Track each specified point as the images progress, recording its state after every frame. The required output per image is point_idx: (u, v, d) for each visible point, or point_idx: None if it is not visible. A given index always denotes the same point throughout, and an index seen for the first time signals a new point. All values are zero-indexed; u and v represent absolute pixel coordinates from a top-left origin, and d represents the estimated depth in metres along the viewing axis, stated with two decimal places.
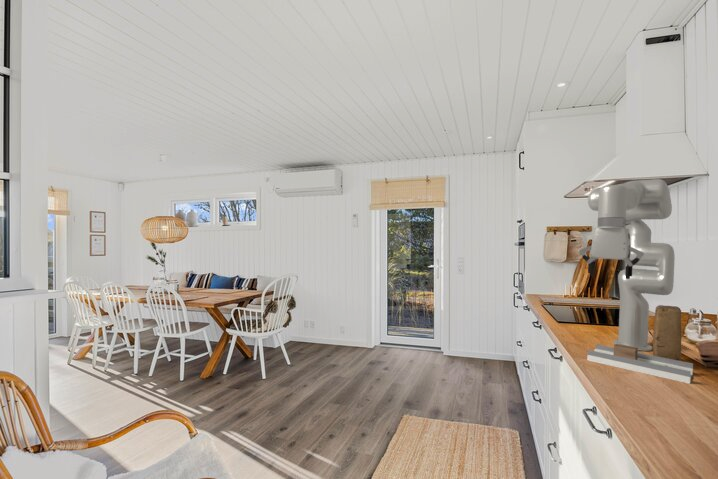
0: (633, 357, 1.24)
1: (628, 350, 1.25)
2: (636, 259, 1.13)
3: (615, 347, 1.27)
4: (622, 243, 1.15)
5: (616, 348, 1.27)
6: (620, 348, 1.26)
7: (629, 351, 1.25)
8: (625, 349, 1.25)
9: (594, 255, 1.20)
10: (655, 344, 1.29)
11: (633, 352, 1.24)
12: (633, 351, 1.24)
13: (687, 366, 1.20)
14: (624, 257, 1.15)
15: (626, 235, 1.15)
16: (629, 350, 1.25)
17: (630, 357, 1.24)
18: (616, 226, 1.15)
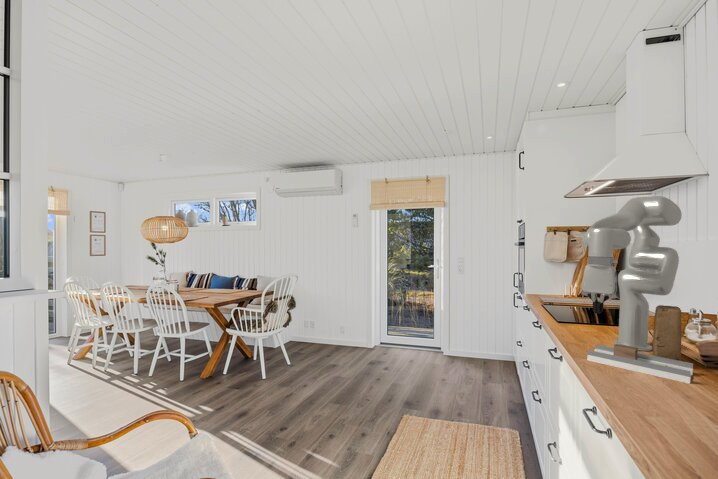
0: (633, 357, 1.24)
1: (628, 350, 1.25)
2: (606, 297, 1.31)
3: (615, 347, 1.27)
4: (609, 280, 1.29)
5: (616, 348, 1.27)
6: (620, 348, 1.26)
7: (629, 351, 1.25)
8: (625, 349, 1.25)
9: (584, 289, 1.34)
10: (655, 344, 1.29)
11: (633, 352, 1.24)
12: (633, 351, 1.24)
13: (687, 366, 1.20)
14: (611, 293, 1.29)
15: (613, 273, 1.29)
16: (629, 350, 1.25)
17: (630, 357, 1.24)
18: (604, 265, 1.30)
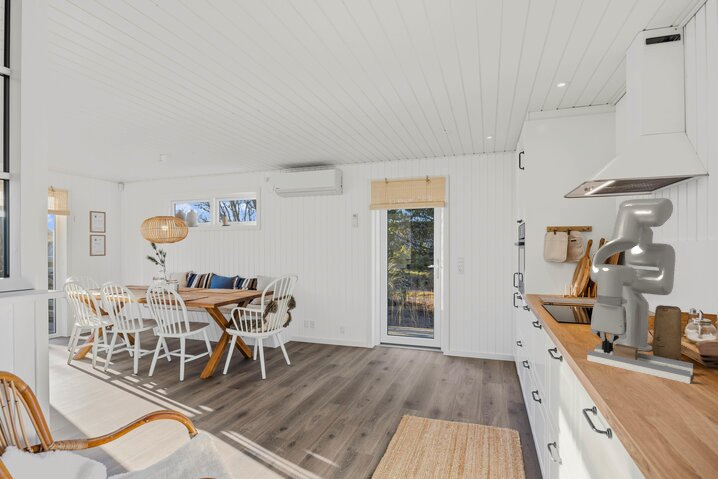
0: (633, 357, 1.24)
1: (628, 350, 1.25)
2: (616, 337, 1.29)
3: (615, 347, 1.27)
4: (619, 320, 1.27)
5: (616, 348, 1.27)
6: (620, 348, 1.26)
7: (629, 351, 1.25)
8: (625, 349, 1.25)
9: (593, 328, 1.32)
10: (655, 344, 1.29)
11: (633, 352, 1.24)
12: (633, 351, 1.24)
13: (687, 366, 1.20)
14: (620, 333, 1.27)
15: (622, 313, 1.27)
16: (629, 350, 1.25)
17: (630, 357, 1.24)
18: (613, 305, 1.27)
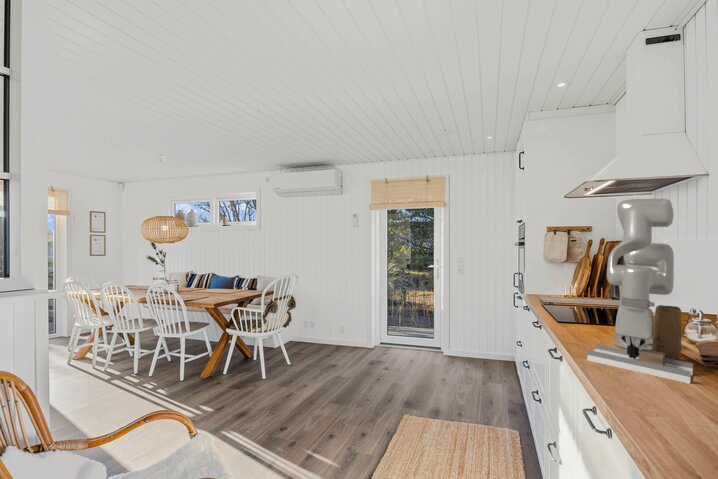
0: (661, 363, 1.18)
1: (655, 356, 1.19)
2: (642, 341, 1.23)
3: (641, 353, 1.22)
4: (646, 324, 1.22)
5: (642, 354, 1.22)
6: (647, 354, 1.21)
7: (656, 357, 1.19)
8: (652, 355, 1.20)
9: (618, 332, 1.27)
10: (655, 344, 1.29)
11: (660, 358, 1.18)
12: (661, 357, 1.18)
13: (687, 366, 1.20)
14: (648, 338, 1.21)
15: (649, 317, 1.21)
16: (656, 356, 1.19)
17: (657, 363, 1.19)
18: (640, 308, 1.22)
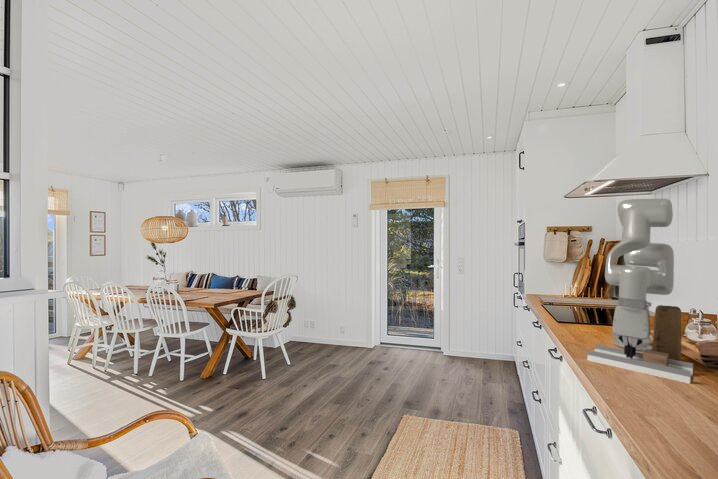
0: (664, 364, 1.18)
1: (659, 357, 1.19)
2: (639, 341, 1.24)
3: (644, 353, 1.21)
4: (643, 324, 1.22)
5: (646, 354, 1.21)
6: (650, 354, 1.20)
7: (660, 358, 1.18)
8: (655, 355, 1.19)
9: (615, 332, 1.28)
10: (655, 344, 1.29)
11: (664, 358, 1.18)
12: (664, 358, 1.18)
13: (687, 366, 1.20)
14: (645, 337, 1.22)
15: (646, 317, 1.22)
16: (660, 357, 1.18)
17: (660, 364, 1.18)
18: (637, 308, 1.23)
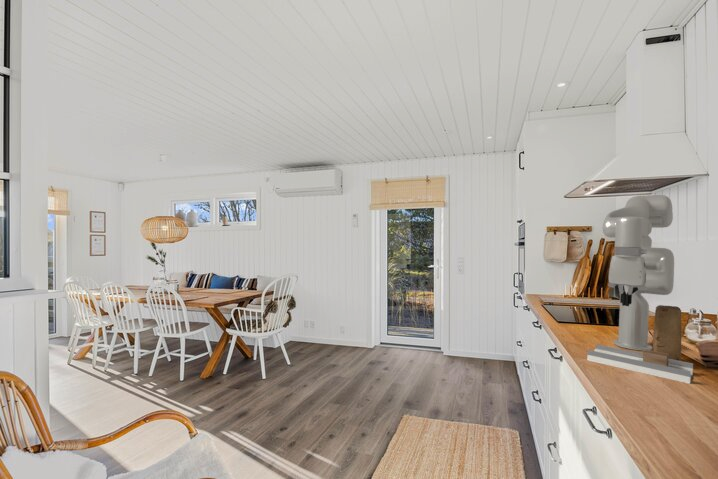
0: (664, 364, 1.18)
1: (659, 357, 1.19)
2: (635, 288, 1.25)
3: (644, 353, 1.21)
4: (638, 271, 1.24)
5: (646, 354, 1.21)
6: (650, 354, 1.20)
7: (660, 358, 1.18)
8: (655, 355, 1.19)
9: (611, 281, 1.29)
10: (655, 344, 1.29)
11: (664, 358, 1.18)
12: (664, 358, 1.18)
13: (687, 366, 1.20)
14: (640, 284, 1.23)
15: (642, 264, 1.23)
16: (660, 357, 1.18)
17: (660, 364, 1.18)
18: (632, 255, 1.24)
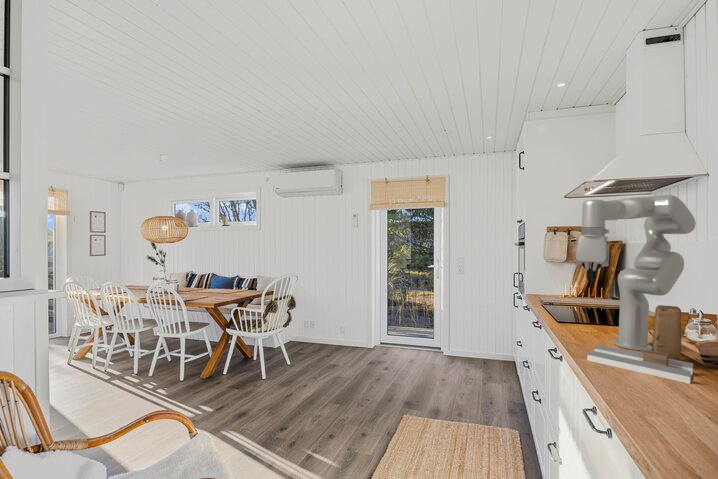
0: (664, 364, 1.18)
1: (659, 357, 1.19)
2: (599, 265, 1.38)
3: (644, 353, 1.21)
4: (601, 249, 1.36)
5: (646, 354, 1.21)
6: (650, 354, 1.20)
7: (660, 358, 1.18)
8: (655, 355, 1.19)
9: (578, 259, 1.42)
10: (655, 344, 1.29)
11: (664, 358, 1.18)
12: (664, 358, 1.18)
13: (687, 366, 1.20)
14: (603, 261, 1.36)
15: (605, 242, 1.36)
16: (660, 357, 1.18)
17: (660, 364, 1.18)
18: (596, 234, 1.37)
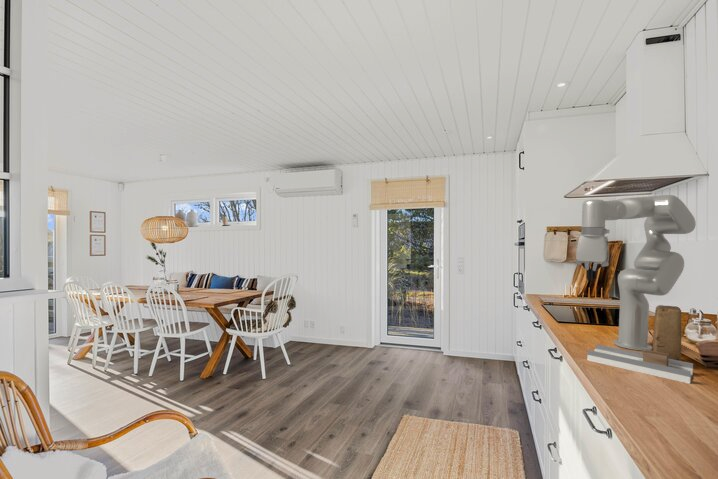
0: (664, 364, 1.18)
1: (659, 357, 1.19)
2: (599, 265, 1.38)
3: (644, 353, 1.21)
4: (601, 249, 1.36)
5: (646, 354, 1.21)
6: (650, 354, 1.20)
7: (660, 358, 1.18)
8: (655, 355, 1.19)
9: (578, 259, 1.42)
10: (655, 344, 1.29)
11: (664, 358, 1.18)
12: (664, 358, 1.18)
13: (687, 366, 1.20)
14: (603, 261, 1.36)
15: (605, 242, 1.36)
16: (660, 357, 1.18)
17: (660, 364, 1.18)
18: (596, 234, 1.37)
